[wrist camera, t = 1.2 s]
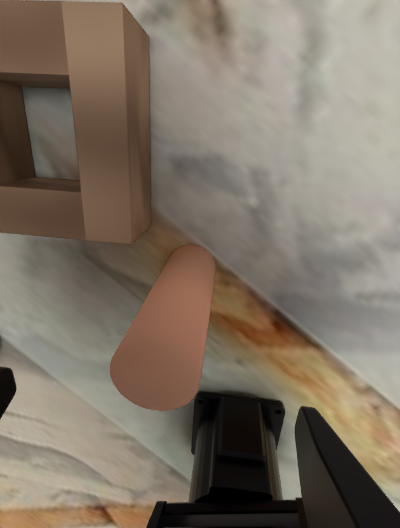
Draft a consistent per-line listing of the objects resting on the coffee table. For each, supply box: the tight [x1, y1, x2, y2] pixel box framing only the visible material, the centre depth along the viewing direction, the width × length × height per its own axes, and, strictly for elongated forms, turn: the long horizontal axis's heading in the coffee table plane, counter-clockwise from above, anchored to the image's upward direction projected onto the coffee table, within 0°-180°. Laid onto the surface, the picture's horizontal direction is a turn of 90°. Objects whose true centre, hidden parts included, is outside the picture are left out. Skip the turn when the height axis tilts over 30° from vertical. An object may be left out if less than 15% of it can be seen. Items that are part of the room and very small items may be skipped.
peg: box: [110, 245, 216, 411], centre depth 14 cm, size 3×3×9 cm
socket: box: [0, 0, 151, 244], centre depth 14 cm, size 9×9×4 cm
